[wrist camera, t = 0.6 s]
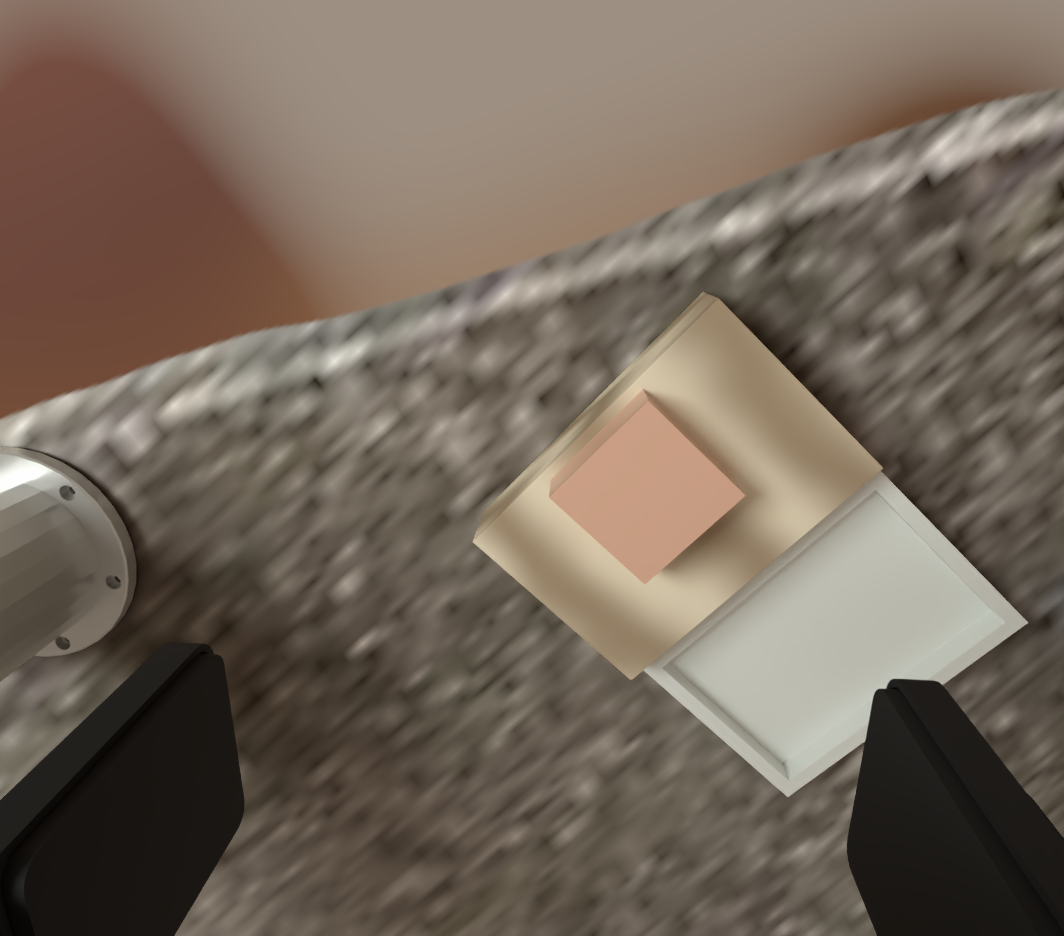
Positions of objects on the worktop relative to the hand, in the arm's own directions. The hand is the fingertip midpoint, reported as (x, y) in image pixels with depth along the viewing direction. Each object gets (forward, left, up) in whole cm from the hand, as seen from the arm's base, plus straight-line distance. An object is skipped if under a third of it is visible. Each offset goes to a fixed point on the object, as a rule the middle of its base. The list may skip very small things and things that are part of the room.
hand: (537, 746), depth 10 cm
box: (0, -20, -27) cm, 34 cm away
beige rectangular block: (0, -7, -27) cm, 28 cm away
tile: (0, -5, -23) cm, 24 cm away
